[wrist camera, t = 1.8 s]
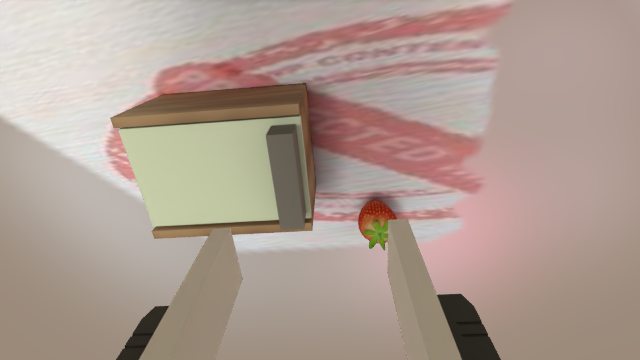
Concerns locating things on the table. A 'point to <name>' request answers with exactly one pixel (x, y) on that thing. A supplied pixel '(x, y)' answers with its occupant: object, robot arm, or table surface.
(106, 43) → the table surface
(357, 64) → the table surface
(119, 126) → the box
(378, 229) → the fruit
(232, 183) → the lid
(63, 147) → the table surface
